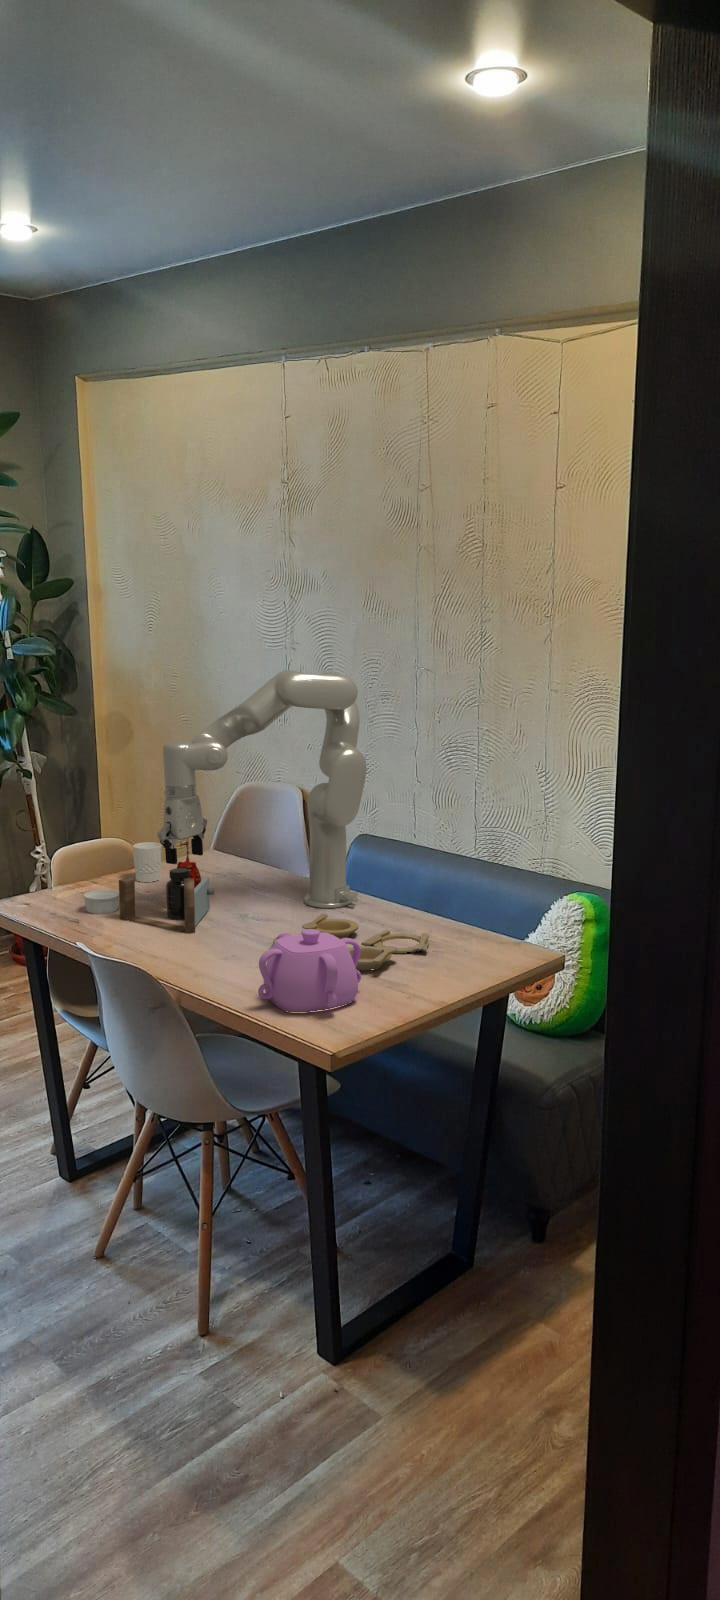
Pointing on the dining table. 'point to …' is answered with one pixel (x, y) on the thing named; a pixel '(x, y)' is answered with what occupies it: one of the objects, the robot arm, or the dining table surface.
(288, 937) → the purple lidded pot
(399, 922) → the dining table surface
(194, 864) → the red clay folk toy
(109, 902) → the ramekin
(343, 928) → the tableware set
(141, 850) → the white cup
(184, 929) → the door frame
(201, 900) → the door
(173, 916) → the supplement bottle
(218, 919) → the dining table surface
